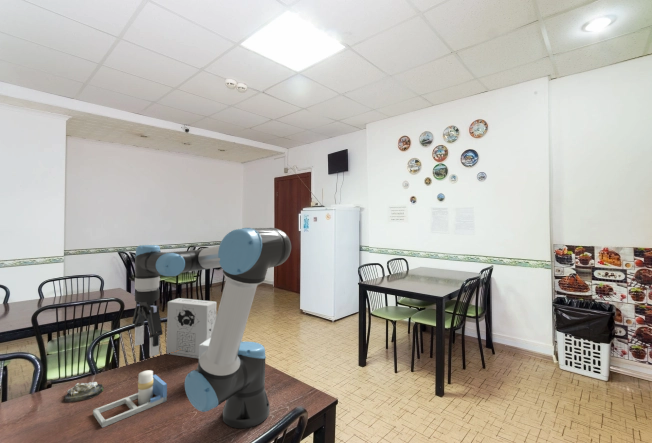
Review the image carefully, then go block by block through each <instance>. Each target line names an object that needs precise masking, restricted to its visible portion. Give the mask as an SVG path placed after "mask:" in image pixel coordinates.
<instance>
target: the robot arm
mask: <svg viewBox="0 0 652 443" xmlns="http://www.w3.org/2000/svg"><path fill="white" fill-rule="evenodd" d="M291 251H292V243H291V240H290V237H289V236H288V235H287V233H286V232H284V231H283V230H281V229H280V228H276V227H259V228H257V227H253V228H252V227H242V228H238V229H233V230H231V231H229V232H227V233H226V235H225V236H224V237H223V238H222V239H221V241H220V243H219V245H217V246H211V247H206V248H200V249H192V250H182V251H180V250H179V251H171V252H170V251H169V252H167V251H166V252H165V251H164V252H163V251H162V252H161V247H160V245H158V244H142V245H138V246H137V247H136V248H135V256H134V260H135V261H134V264H135V265H134V269H135V270H134V275H135V276H134V290H135V291H134V301H135V309H134V314H133V316H132V322H131V323H132V324H133V326H134V346H135V347H136V346H141V345H144V340H145V326H146V325H145V320H146V321H147V325H148V329H149V333H150V335H149V336H148V338H149V357H154V356H158V355H159V354H160V336H162V335H163V328H162V321H161V315H160V306H159V305H155V302H156V301H158V300H159V299H160V289H159V288H160V281H161V279H162V278H160V277H161V276H164V277H176V276H179V275H180V274H181V273H187V272H196V271H202V270H203V271H204V270H209V269H214V268H215V269H216V268H222V274H223V275H224V277H225V278H226V280H225V282H224V287H223V290H222V295H221V298H220V302H219V306H218V309H217V312H216V320H215V324H214V328H213V331H212V335H211V339H210V343H209V347H208V350H207V351H205V352H204V353H203V354H202V355H201V357H200V359H198V364H197V367H196V369H192V370H190V372H189V373H187V375H186V376H185V378H184V390H185V394H186V397H187V400H188V401H189V402H190V404H191V405H192V406H193V407H194V409H196V410H197V411H199V412H201V413H202V412H204V413H205V412H209V411H211V410H213V409H215V408H218V406H220V405H221V404H222V403H224V402H225V403H224V406H223V409H222V421H223V422H224V424H226V425H227V426H228V427H232V428H235V429H248V428H253V427H255V426H257V425H259V424H261V423H263V422H264V421H265V420H266V419H267V418H268V417H269V415H270V401H269V398H268V394H267V391H266V387H265V384H266V383H265V382H266V358H267V357H266V348H265V346H264V345H262V343H259V342H256V341H255V342H254V341H242V340H243V337H244V334H245V330H246V327H247V323H248V319H249V315H250V313H251V309H252V306H253V301H254V298H255V295H256V292H257V287H258V286H259V285H261V284H263V283H264V282H265V279H266V275H267V273H268V269H270V268H274V267H277V266H281V265H282V264H283V263H285V262H286V261H287V260H288V258H289V257H290V254H291Z"/></svg>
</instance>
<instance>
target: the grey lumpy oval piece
mask: <svg viewBox="0 0 652 443" xmlns="http://www.w3.org/2000/svg"><path fill="white" fill-rule="evenodd" d="M104 388H105V387H104V385H103V384H102V383H98V382H97V381H90V382H88V383H87V382H85V383H84V382H81V383H79V382H77V383H76V384H75V385H74V386H72V387H71V388H69V389H68V390H67V391H66V392H67V393H66V394H65V395H64V403H71V402H72V403H73V402H79V401H85V400H89V399H93V398H96V397H97V396H99V395H100V394H102V392H104Z"/></svg>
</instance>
